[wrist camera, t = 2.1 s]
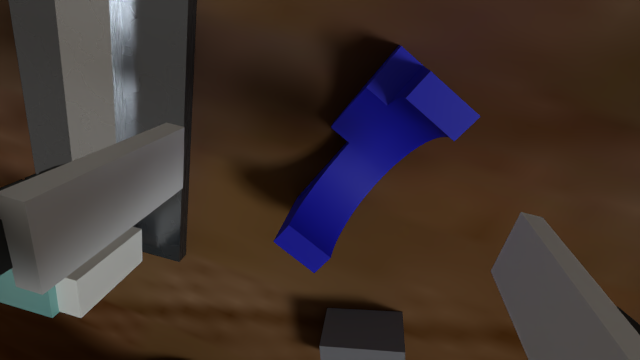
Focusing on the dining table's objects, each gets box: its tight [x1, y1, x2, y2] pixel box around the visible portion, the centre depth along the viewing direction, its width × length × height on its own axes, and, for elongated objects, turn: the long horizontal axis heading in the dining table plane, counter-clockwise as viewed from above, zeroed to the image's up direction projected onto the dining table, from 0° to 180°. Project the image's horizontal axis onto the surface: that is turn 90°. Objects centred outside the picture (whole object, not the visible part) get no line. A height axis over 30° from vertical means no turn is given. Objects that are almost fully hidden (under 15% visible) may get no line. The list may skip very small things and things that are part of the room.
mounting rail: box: [8, 0, 197, 262], centre depth 23 cm, size 26×12×2 cm, turn 169°
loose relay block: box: [319, 308, 405, 360], centre depth 27 cm, size 5×6×4 cm
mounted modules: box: [0, 227, 142, 318], centre depth 19 cm, size 26×7×6 cm, turn 169°
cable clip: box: [274, 45, 480, 273], centre depth 20 cm, size 12×4×6 cm, turn 142°
